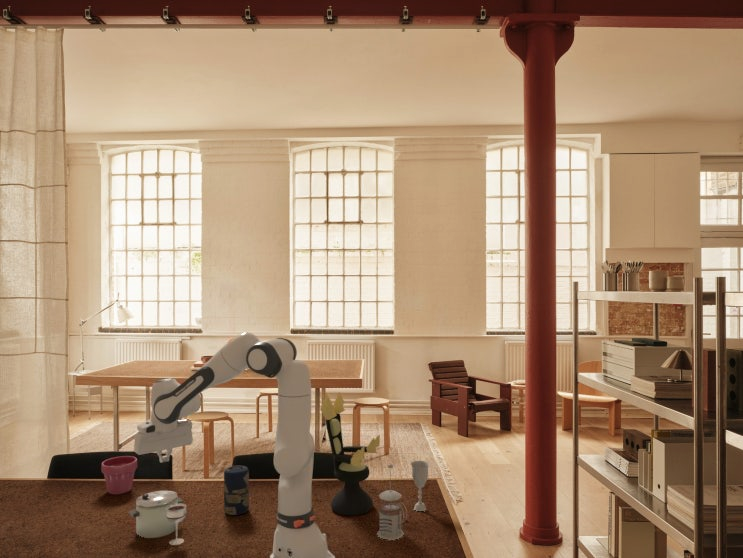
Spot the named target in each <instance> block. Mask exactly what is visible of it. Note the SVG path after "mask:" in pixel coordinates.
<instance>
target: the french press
mask: <svg viewBox="0 0 743 558" xmlns="http://www.w3.org/2000/svg"><path fill="white" fill-rule="evenodd" d="M387 468H388V469H393V468H394V465H393V464H392V463H389V464H387ZM391 481H392V480H391V470H389V490H384V491H382V492H381V493H379V495H378V497H379V499H380V500H382V501H386V502H387V503H382V504H381V505H380V509H379V511H378V512H379V515H378V516H379V521H378V522H379V524H378V525H379V530H378V531H377V532H376V536H377V535H378V536H377V537H378V538H379V537H380V538H379V539H381V538H383V539H388V540H387V541H391V540H393V541H396V540H395V539H398V540H400V539H399V538H401V537H402V536H403V535H404V536H405V533H404V531H403V530H402V523H404V522H406V520H407V519H408V518H407V517H408V511H407V507H406V505H405V504H404V502H402V501H400V500H401V498H402V494H401V493H400V492H398V491H395V490H394V489H393V490H392V488H391ZM396 501H400V502H398V503H393V502H396ZM401 504H402V505H403V506H404V508H403V507H402V505H401ZM404 511H406V513H405V512H404ZM391 513H392V514H391ZM402 513H403V514H402ZM405 514H406V515H405ZM402 516H403V518H402ZM405 516H406V517H405ZM404 536H403V537H404ZM403 537H402V538H403ZM402 538H401V539H402ZM383 539H382V540H383Z"/></svg>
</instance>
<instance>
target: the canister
mask: <svg viewBox="0 0 743 558" xmlns="http://www.w3.org/2000/svg"><path fill="white" fill-rule="evenodd" d="M249 473H250V471H249V468H248V466H245V465H241V464H240V465H232V466H229V467H226V468H225V469H224V471H223V502H224V503H223V507H224V508H223V510H224V512H225V514H227V515H231V516H238V515H243V514H245V513H247V512H248V511H249V507H250V493H249V492H250V474H249Z"/></svg>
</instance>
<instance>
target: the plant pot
mask: <svg viewBox="0 0 743 558" xmlns="http://www.w3.org/2000/svg"><path fill="white" fill-rule="evenodd" d="M136 469H138V459H137V457H135V456H133V455H131V456H130V455H124V456H123V455H122V456H115V457H110V458H108V459H105V460H104V461H102V462H101V473H102V474H103V476H104V481H105V485H106V489H107V493H108V494H111V495H120V494H121V495H122V494H125V493H128V492H130V491H131V490H132V489H133V488H132V486H133V481H134V477H135V472H136Z"/></svg>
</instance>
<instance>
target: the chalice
mask: <svg viewBox="0 0 743 558" xmlns="http://www.w3.org/2000/svg"><path fill="white" fill-rule="evenodd" d="M410 465H411V476H412V480H413V482H414V485H415V486H416V487H417V488H418V491H417V493H418V496H417V499H418V502H416V503H415V504H414V508H413V511H414V510H416V511H415V512H417V511H424V512H426V511H427V508H426V505H425V503H424V502H423V501H422V498H423V496H422V493H423V492H422V488H424V486H425V484H426V483H427V480H428V478H429V465H430V463H429V462H427V461H423V460H413V461H411V462H410ZM425 510H426V511H425Z"/></svg>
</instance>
